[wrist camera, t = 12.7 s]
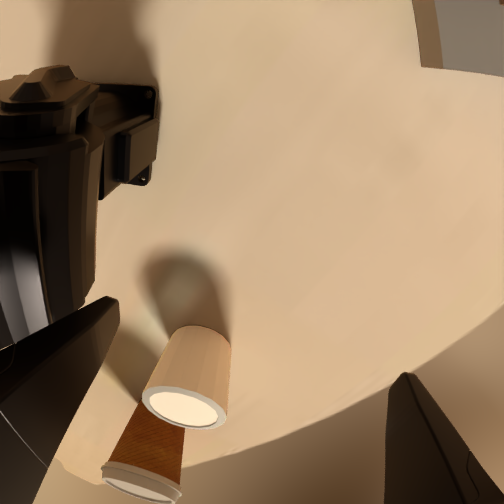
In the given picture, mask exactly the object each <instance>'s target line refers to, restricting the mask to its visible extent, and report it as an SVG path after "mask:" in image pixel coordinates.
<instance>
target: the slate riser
mask: <svg viewBox="0 0 504 504" xmlns="http://www.w3.org/2000/svg"><path fill="white" fill-rule="evenodd" d="M412 2H413V8H414V13H415V19H416V26H417V32H418V40H419V48H420V56H421V66H422V67H428V68H439V69H449V70H458V71H467V72H474V73H481V74H488V75H494V76H500V77H504V6H503V5H500V4H499V0H412Z"/></svg>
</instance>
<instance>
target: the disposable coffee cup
mask: <svg viewBox="0 0 504 504" xmlns="http://www.w3.org/2000/svg"><path fill="white" fill-rule="evenodd" d="M184 433H185V428H184V427H180V426H177V425H173V424H171V423H169V422H167V421H164V420H162V419H160V418H158V417H157V416H156V415H154V414H153V413H152V412H150V411H149V410H148V409H147V407H146V406H145V405H144V403H143V402H142V399H141V400H140V402H139V404H138V405H137V407H136V409H135V411H134V413H133V415H132V417H131V419H130V420H129V422H128V424H127V426H126V428H125V430H124V432H123V434H122V435H121V437H120V439H119V441H118V443H117V445H116V447H115V449H114V451H113V452H112V454H111V456H110V458H109V460H108V462H106V463H105V465H103V466H102V467H101V470H102V471H103V473H102V480H103V481H104V482H105V483H106V484H108V485H109V486H111V487H113V488H115V489H117V490H119V491H121V492H124V493H126V494H128V495H131V496H134V497H137V498H140V499H143V500H147V501H151V502H154V503H160V504H175V503H176V501H177V500H178V498H179V497H180V496H182V492H181V487H180V475H181V474H180V473H181V463H182V454H183V443H184Z"/></svg>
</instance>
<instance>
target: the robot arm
mask: <svg viewBox="0 0 504 504" xmlns="http://www.w3.org/2000/svg"><path fill="white" fill-rule="evenodd" d="M149 90H150V91H151V92H152V97H151V98H150V97H148V96H147V92H148V91H149ZM158 95H159V93H158V89H157V88H156V87H155V86H151V85H137V84H118V83H90V82H86V81H81V80H78V78H77V77H75V76H74V74H73V72H72V71H71V69H70V67H69V66H65V65H56V66H49V67H43V68H39V69H36V70H34V71H32V72H31V73H30V74H29V75H15V76H13V78H12V79H9V80H3V81H0V504H32V503H33V501H34V499H35V497H36V494H37V492H38V490H39V488H40V485H41V483H42V481H43V479H44V477H45V474H46V472H47V470H48V467H49V466H50V463H51V461H52V459H53V457H54V455H55V453H56V451H57V449H58V447H59V445H60V443H61V441H62V439H63V437H64V435H65V433H66V431H67V429H68V427H69V425H70V423H71V421H72V419H73V417H74V415H75V414H76V412H77V410H78V408H79V406H80V404H81V402H82V400H83V398H84V397H85V395H86V393H87V391H88V389H89V387H90V386H91V384H92V382H93V380H94V378H95V377H96V375H97V373H98V371H99V369H100V367H101V365H102V363H103V361H104V359H105V356H106V354H107V352H108V349H109V347H110V345H111V342H112V340H113V338H114V335H115V333H116V331H117V328H118V326H119V323H120V311H119V302H118V300H117V299H115V298H112V297H109V296H104V297H102V298H100V299H98V300H96V301H94V302H92V303H91V304H89V305H87V306H85V307H83V308H81V309H79V308H80V307H82V306H83V305H84V303H85V297H86V296H87V294H88V292H89V290H90V289H91V287H92V285H93V283H94V281H95V268H96V227H97V208H98V200H103V199H104V198H105V197H106V196H107V195H108V194H109V193H111V192H112V191H113V190H114V189H115V188H116V187H118V186H119V185H120V184H121V183H122V184H133V185H138V186H145V185H147V184H148V183H149V181H150V180H151V169H152V162H153V161H154V160H155V159H156V152H157V140H158V130H159V121H158V119H157V118H156V112H157V103H158ZM141 175H143V176H144V177H145V180H142V179H141V177H140V176H141ZM78 309H79V310H78ZM13 343H14V344H13ZM11 344H12V345H11ZM9 345H10V346H9ZM7 346H8V347H7ZM5 347H6V348H5ZM3 348H4V349H3ZM1 349H2V350H1ZM385 434H386V436H385V449H386V452H385V456H386V457H385V459H386V460H385V493H384V504H504V494H503V493H502V492H501V490H500V489H499V488H498V487H497V486H496V484H495V483H494V482H493V480H492V479H491V478H490V477H489V475H488V474H487V473H486V472H485V470H484V469H483V468H482V466H481V465H480V463H479V462H478V461H477V459H476V458H475V456H474V455H473V453H472V452H471V451H469V450H470V449H469V448H468V446H467V445H466V443H465V442H464V440H463V439H462V438H461V436H460V435H459V433H458V432H457V430H456V429H455V428H454V426H453V425H452V423H451V422H450V421H449V419H448V418H447V417H446V415H445V414H444V412H443V411H442V410H441V408H440V407H439V406H438V404H437V403H436V401H435V400H434V399H433V397H432V396H431V395H430V393H429V392H428V391H427V389H426V388H425V387H424V385H423V384H422V383H421V381H420V380H419V379H418V377H417V376H416V375H415V374H414V373H408V372H403V373H402V374H401V375H400V376H399V377H398V378H397V380H396V381H395V382H394V383H393V384H392V386H391V387H390V389H389V393H388V408H387V420H386V433H385Z"/></svg>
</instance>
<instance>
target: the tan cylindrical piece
mask: <svg viewBox="0 0 504 504" xmlns="http://www.w3.org/2000/svg"><path fill="white" fill-rule="evenodd" d="M230 364H231V348H230V344H229V342H228V341H227V340H226V339H225V338H224V337H223V336H222V335H221V334H219V333H217V332H216V331H214V330H212V329H209V328H206V327H202V326H184V327H182V328H179V329H177V330H176V331H175V332H174V333H173V334H172V336H171V338H170V340H169V342H168V344H167V346H166V348H165V350H164V351H163V353H162V355H161V357H160V359H159V361H158V363H157V365H156V367H155V369H154V371H153V373H152V375H151V377H150V379H149V381H148V383H147V385H146V387H145V389H144V391H143V393H142V402H143V403H144V405H145V406H146V407H147V409H148V410H149V411H150V412H152V413H153V414H154V415H156V416H157V417H158V418H160V419H162V420H164V421H167V422H169V423H171V424H173V425H177V426H180V427H184V428H188V429H198V430H206V429H214V428H217V427H219V426H221V425H223V424H224V422H225V420H226V418H227V407H228V393H229V378H230Z"/></svg>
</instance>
